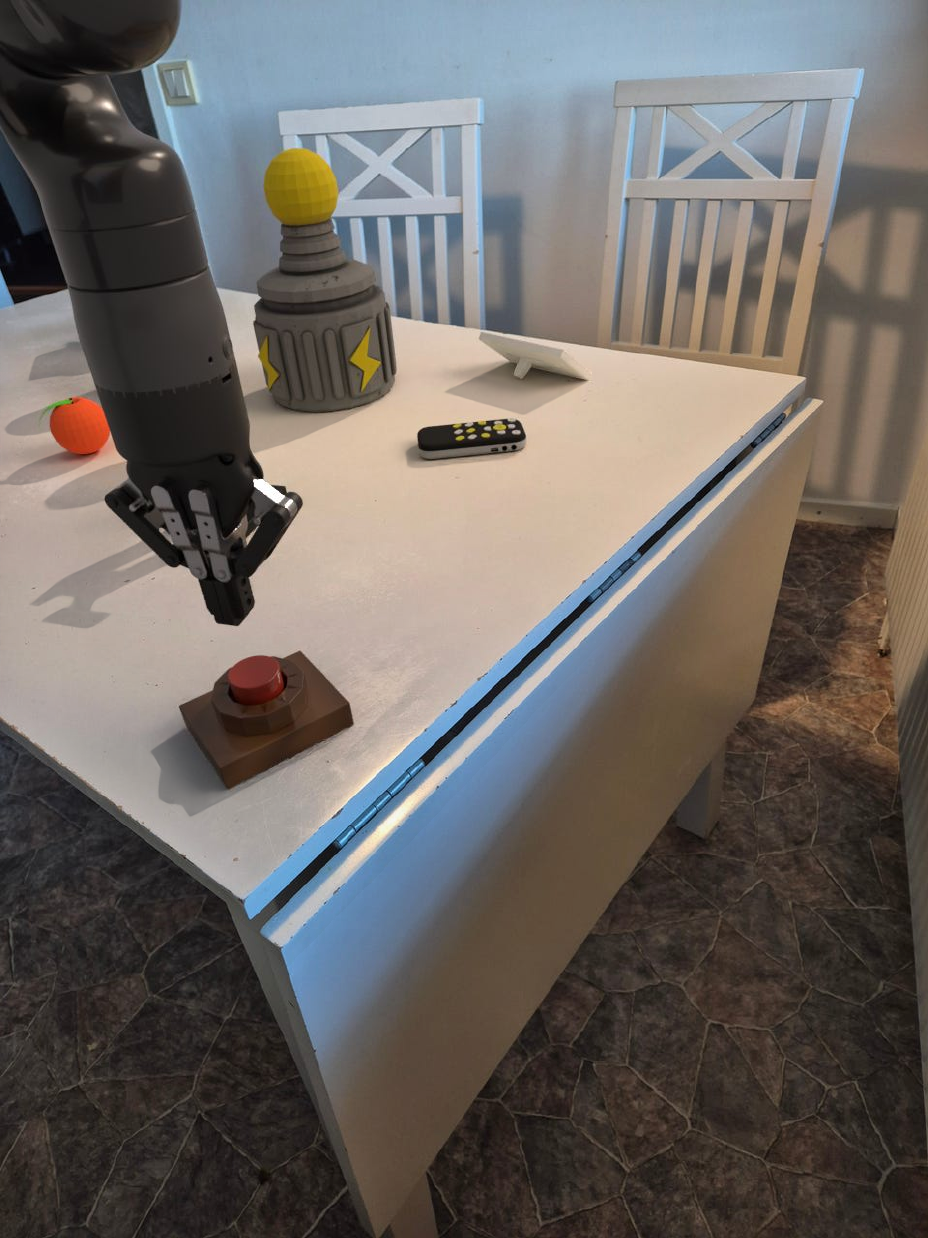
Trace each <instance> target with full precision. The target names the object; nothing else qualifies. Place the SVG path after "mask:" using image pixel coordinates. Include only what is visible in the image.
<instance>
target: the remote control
mask: <svg viewBox="0 0 928 1238" xmlns="http://www.w3.org/2000/svg"><path fill="white" fill-rule="evenodd" d="M416 435H417V436H416V440H417V446H418V453H419V455H420V456H421V457H422V458H423V459H426V460H437V459H446V458H456V457H467V456H475V455H485V454H487V455H488V454H496V453H504V452H515V451H519V450H522V449H523V448H525V446H526V444H527V435H526V432H525V430H524V427H523V424H522V422H521V421H520V420H518V419H517V418H515V417H509V418H501V419H499V418H498V419H490V420H480V421H469V422H459V423H451V424H440V425H432V426H425V427H422V428H420V429H418V431H417V434H416Z"/></svg>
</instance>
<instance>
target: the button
mask: <svg viewBox="0 0 928 1238" xmlns="http://www.w3.org/2000/svg"><path fill="white" fill-rule="evenodd" d="M231 667H232V668H231ZM231 667H230V668H231V669H230V671H229V674H228V680H229V683H230V686H231V689H232V692H233V695H234V698H235V700H236V701H237V702H239V703H240V704H242V705H245V706H251V705H260V704H264V703H266V702H269V701H271V700H273V699H275V698H277V697H278V696H279V695H280V694H281V692H282V691H283V688H284V681H283V677H282V674H281V670H280V666H279V663H278V662H277V661H276V660H275V659H274V658H272V657H270V655H264V654H260V655H258V654H257V655H252V656H248V657H245V658H243V659H241V660H239V661H237V662H236V663H235V664H234V665H233V666H231Z"/></svg>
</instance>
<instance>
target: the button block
mask: <svg viewBox="0 0 928 1238" xmlns="http://www.w3.org/2000/svg"><path fill="white" fill-rule="evenodd" d="M269 657H272V658H274V659H275V660H276V661H277V662H278V663H279V666H280V670H281V674H282V677H283V681H284V688H283V691H282V692H281V694H280V695H279V696H278V697H277V698H275V699H273V700H271V701H269V702H266V703H264V704H260V705H251V706H245V705H242V704H240V703H239V702H237V701H236V700H235V698H234V695H233V692H232V689H231V686H230V683H229V680H228V674H229V671H230V669H231V668H232V667H233V666H231V667H229V668H228V669H227V670H226V671H225V672H224V673H223V674H222V675H221V676H220V677H218V679H216V680H215V681H214V683H213V687H212V690H210V691H208V692H206V693H204V694H202V695H199V696H196V697H195V698H193V699H190V700H188V701H186V702H184V703H182V704H179V705H178V709H179V712H180V714H181V717H182V720H183V722H184V725H185V727H186V729H187V730H188V732H189V733H190V735H191V736H192V738H193V739H194V741H195V742H196V744H197V746H198V747H199V749H200V750H201V752H202V754H203V755H204V757H205V758H206V759H207V761H208V762H209V764H210V766H211V767H212V769H213V770H214V771H215V773H216V775H217V776H218V778H219V779H220V781H221V783H222V784H223V785H224V787H225V788H226V790H230V789H232V788H234V787H236V786H238V785H240V784H242V783H243V782H246V781H248V780H250V779H252V778H253V777H256V776H258V775H259V774H261V773H263V772H265V771H268V770H269V769H270V768H273V767H274V766H277V765H278V764H280V763H282V762H284V761H286V760H288V759H290V758H292V757H294V756H296V755H298V754H299V753H301V752H304V751H306V750H307V749H309V748H312V747H313V746H315V745H317V744H319V743H320V742H323V741H325V740H326V739H329V738H330V737H332V736H335V735H336V734H338V733H340V732H342V731H344V730H346V729H348V728H349V727H352V726H353V725H354V723H355V722H354V717H353V713H352V709H351V704H350V702H349V701H348V699H347V698H346V697H345V696H344V695H343V694H342V693H341V692H340V691H339V690H338V689H337V688H336V686H334V685H333V683H332V682H330V680H329V679H328V678H327V677H326V676H325V675H324V674H323V673H322V672H321V670H320V669H318V668H317V666H316V665H314V663H313V662H312V661H311V660H310V658H308V657H307V656H306V655H305V654H304V653H303V651H301V650H297V651H295V652H293V653H291V654H289V655H287V656H285V657H279V656H276V655H275V656H274V655H272V656H270V655H269Z"/></svg>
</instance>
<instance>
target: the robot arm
mask: <svg viewBox="0 0 928 1238" xmlns="http://www.w3.org/2000/svg"><path fill="white" fill-rule="evenodd" d="M182 8H183V0H0V131H1V133H2V135H3V136H4V138H5V140H6V142H7V144H8V145H9V147H10V149H11V150H12V152H13V155H15V157H16V159H17V160H18V162H19V163H20V165H21V167H22V168H23V170H24V171H25V173H26V175H27V177H28V179H30V181H31V184H32V185H33V187H34V189H35V191H36V192H37V196H38V198H39V201H40V204H41V205H40V206H41V209H42V212H43V216H44V219H45V222H46V225H47V228H48V231H49V234H50V237H51V240H52V244H53V246H54V249H55V252H56V255H57V258H58V262H59V264H60V268H61V271H62V273H63V276H64V280H65V283H66V284H67V290H68V291H67V292H68V294H69V298H70V303H71V307H72V313H73V319H74V324H75V328H76V331H77V336H78V339H79V343H80V345H81V349H82V352H83V355H84V357H85V360H86V363H87V366H88V369H89V372H90V376H91V378H92V382H93V385H94V388H95V390H96V393H97V396H98V399H99V402H100V405H101V408H102V409H103V411H104V414H105V417H106V420H107V423H108V426H109V429H110V436H111V438H112V441H113V444H114V447H115V450H116V451H117V453H118V454H119V455H120V457H121V458H123V459H124V460H126V461H127V462H126V465H125V470H126V474H127V476H128V478H127V479H125V480H124V481H123V482H122V483H120V484H119V485H117V486H116V487H115V488H113V489H112V490H111V491H109V492H108V493H107V494H105V496H104V503H105V504H106V506H107V507H108V508H109V510H111V511H112V512H113V513H114V514H115V515H116V516H117V517H118V518H119V519H120V520H121V521H122V522H123V523H124V524H125V525H126V526H127V527H128V528H129V529H130V530H131V531H132V532H133V533H134V534H135V535H136V536H137V537H138V538H139V539H140V540H141V541H143V543H144V544H146V545H147V547H148V548H149V549H150V550H151V551H152V552H153V553H154V554H156V556H158V558H159V559H160V560H162V561H163V562H164V563H165V564H166V565H167V566H168V567H170V568H173V569H176V568H178V567H180V566H181V567H184V568H186V569H188V570H189V572H190V573H191V575H192V576H193V577H194V578H196V579H197V580H198V583H199V588H200V591H201V593H202V597H203V600H204V603H205V607H206V609H207V611H208V612H209V614H210V615H211V616H213V619H214V622H215V623H216V624H219V625H225V626H230V627H231V626H232V627H239V626H240V625H241V624H242V623H243V621H245V619H246V618H247V617H248V616H249V615H250V614H251V613H250V612H251V611H252V610H253V609H254V608H255V604H256V600H255V595H254V592H253V589H252V585H251V580H250V577H251V578H252V576H253V575H254V574H255V573H256V572H257V571H258V569H259V567H260V566H261V565H262V564H263V563H264V562H265V561H266V560H268V559H269V557H271V555H272V554H273V552H274V551H275V550H276V547H277V546H278V545H279V543H280V542H281V540H282V539H283V537H284V535H285V533H286V532H287V531H288V529H289V528H290V526H291V525H292V523H293V521H294V520H295V518H296V517H297V515H298V514H299V512H300V510H301V509H302V507H304V501H303V498H302V497H301V496H300V494H298V493H297V492H294V491H288V492H287V493H286V494H285V495H282V494H281V493H280V492H278V491H277V490H276V489H274V488H273V487H272V486H270V485H271V484H269V483H268V482H266V481H265V480H264V477H265V476H264V475H265V474H264V470H263V467H262V465H261V463H260V462H259V461H258V459H257V458H256V457H255V455H254V454H253V451H252V448H251V443H250V435H251V434H250V432H251V424H250V418H249V414H248V410H247V406H246V401H245V397H244V392H243V388H242V383H241V379H240V375H239V370H238V366H237V361H236V356H235V352H234V348H233V347H234V346H233V342H232V339H231V335H230V330H229V326H228V321H227V317H226V314H225V309H224V306H223V303H222V300H221V298H220V295H219V292H218V289H217V287H216V283H215V281H214V278H213V275H212V271H211V268H210V265H209V259H208V255H207V251H206V245H205V242H204V237H203V233H202V229H201V225H200V220H199V215H198V211H197V209H196V204H195V200H194V195H193V192H192V188H191V184H190V180H189V177H188V174H187V171H186V168H185V165H184V163H183V161H182V159H181V158H180V156H179V154H178V152H177V151H176V150H175V149H173V147H171V146H170V145H169V144H167V143H165V142H164V141H162V140H160V139H158V138H156V137H153V136H150V135H149V134H147V133H144V132H142V131H141V130H139V129H137V128H136V126H135V125H134V124H133V123H132V122H131V120H130V119H129V117H128V115H127V113H126V111H125V109H124V107H123V106H122V104H121V101H120V99H119V97H118V94H117V92H116V90H115V88H114V85H113V84H112V83H113V82H112V81H111V79H110V77H109V76H115V75H123V74H132V73H134V72H138V71H141V70H143V69H146V68H148V67H150V66H152V65H154V64H155V63H156V62H158V61H159V60H160V59H162V58H163V57H164V56H165V55H166V54H167V52H168V51H169V50H170V48H171V46H172V45H173V43H174V41H175V39H176V37H177V34H178V32H179V29H180V24H181V20H182V19H181V18H182ZM252 502H254V504H255V510H254V516H255V518H254V523H255V524H256V525H258V526H257V527H256V529H255V532H254V533H253V535H252V537H250V540H249V542H247V538H246V536H245V534H246V531H247V528H248V521H247V515H246V513H247V512H248V510H249V508H250V506H251V504H252ZM160 529H163V530H164V531H165V532H166V533H167V534H169V536H170V538H171V541H172V542H171V541H170V540H169V539H168V538H167V537H166V536H165V535H164V534H163V533H162V532H161V531H160Z"/></svg>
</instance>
